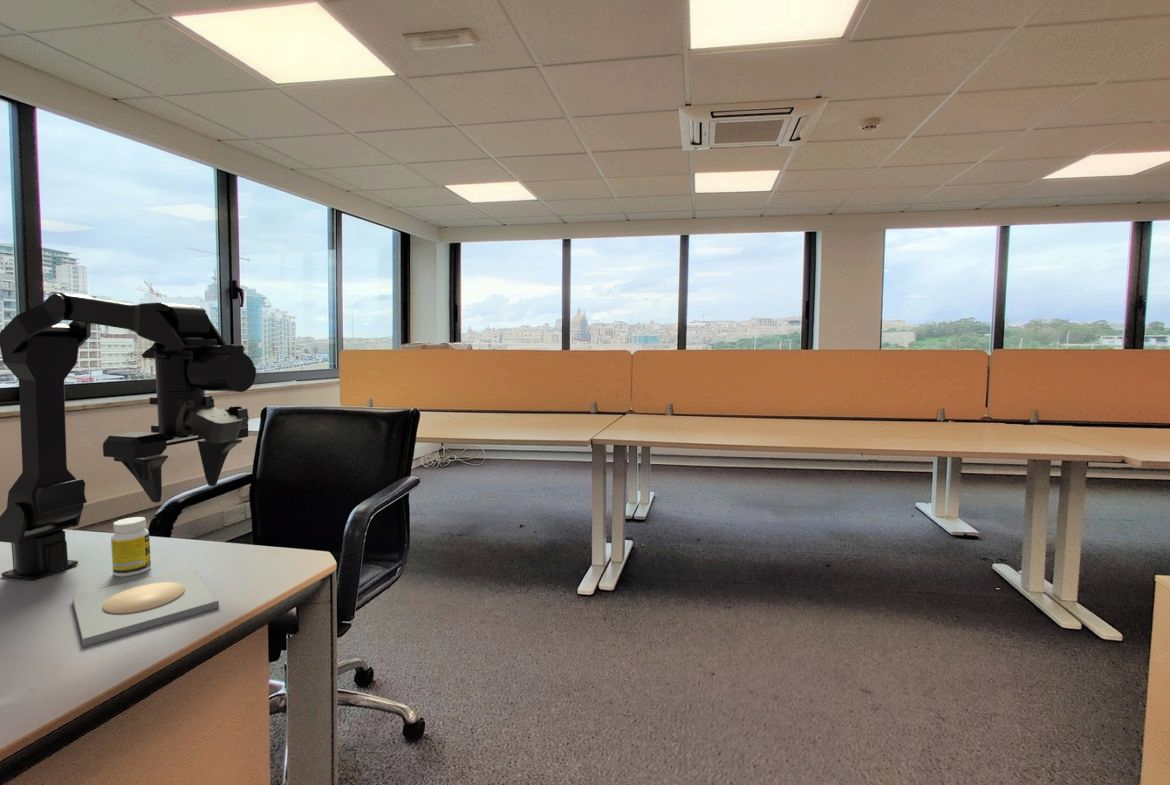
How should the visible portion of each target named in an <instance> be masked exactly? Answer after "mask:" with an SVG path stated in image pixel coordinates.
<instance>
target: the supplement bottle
mask: <svg viewBox="0 0 1170 785" xmlns="http://www.w3.org/2000/svg"><path fill="white" fill-rule="evenodd" d="M112 526H113V529H112V530H113V534H112V535H111V537H110V543H111V544H110V545H111V546H110V547H111V561H112V562H111V563H112V574H113V576H114V577H119V578H121V577H122V578H123V577H131V576H134V575H138V574H141V573H144V572H147V571H148V570H150V569H151V566H152V565H151V564H152V561H151V546H150V545H151V544H150V542H151V541H150V532H149V530H148V529H147V519H146V518H145V517H144V516H134V517H126V518H122V519H119V520H116V521H113V524H112Z"/></svg>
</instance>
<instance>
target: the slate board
mask: <svg viewBox="0 0 1170 785" xmlns="http://www.w3.org/2000/svg"><path fill="white" fill-rule="evenodd" d="M219 601H220V600H219V599H218V598H217V597H216V595H215V594H214V593H213V592H212V591H211V589H210V588H209V587H208V585H207V584H206V583H205V581H204V580H203V579H202V577H200V575H199V574H198V573H197V571H196V570H195V569H194V568H193V567H188V568H183V569H180V570H175V571H172V572H168V573H164V574H163V573H162V574H159V575H155V576H150V577H147V578H142V579H137V580H134V581H129V582H125V583H121V584H115V585H113V586H108V587H105V588H99V589H95V590H92V591H91V590H90V591H87V592H83V593H78V594H74V595H72V604H73V609H74V614H75V618H76V622H77V626H78V630H79V634H80V638H81V642H82V647H83V648H84V647H86V646H90V645H94V644H97V643H101V642H104V641H105V642H106V641H109V640H112V639H114V638H115V639H116V638H119V637H121V636H125V635H129V634H132V633H135V632H139V631H142V630H143V631H144V630H145V629H150V628H152V627H156V626H160V625H163V624H166V623H170V622H173V621H177V620H181V619H184V618H187V617H188V618H189V617H190V616H194V615H197V614H201V613H204V612H208V611H211V610H216V609H218V608H220V602H219Z"/></svg>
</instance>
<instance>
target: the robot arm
mask: <svg viewBox="0 0 1170 785" xmlns="http://www.w3.org/2000/svg"><path fill="white" fill-rule="evenodd" d="M62 321H71V322H70V323H69V324H68V325H67V324H65V323H61V322H62ZM92 324H94V325H98V326H99V325H101V326H105V327H111V328H116V329H117V328H118V329H124V330H128V331H129V330H130V331H131V332H133V333H135V334H136V335H137V336H138V337H140V338H143V339H146V340H149V341H150V342H151V341H152V342H153V344H152V345H151V346H150V347H149V348H148V349H146V350H145V351H144V352H142V354H141V357H142V358H143V359H154V364H155V365H154V366H155V383H156V384H155V385H156V396H152V397H149V405H156V407H157V424H154V425H153V424H152V425H150V432H145V431H144V432H142V431H131V432H125V433H117V434H112V435H111V434H110V435H108V436H107V438H106V439H105V440H104V441H103V443H102V454H103V457H104V458H106V457H107V458H113V460H114V462H121V463H122V465H124V467H125V468H126V469H127V470H128V471H129V472H130V473H131V474H132V475H133V477H134V479H135V480H136V481H137V483H138V484H139V486H141V488H142V490H143V491H144V492H145V494H146V495H147V497H148V498H149V499H150V501H151V503H160V502H161V501H162V494H163V486H162V484H163V483H162V482H163V481H162V480H163V478H162V466H163V465H164V463H165V462H166V461H167V459H168V458H169V455H166V454H165V455H163V453H164V452H165V450H167V448H168V446H173V445H178V444H179V445H180V444H184V443H185V444H186V443H189V442H197V446H198V451H199V454H200V459H201V464H202V469H203V473H204V477H205V480H206V483H207V486H209V487H215V486H216V485H217V483H218V481H219V478H220V475H221V472H222V469H223V466H224V464H225V462H226V459H227V456H228V455H229V453H230V451H232V449H234V447H236V446H237V445H238V444H241V443H242V442H243V439H244V438H248V437H249V412H248V408H247V407H245V406H244V405H232V406H230V407H229V408H228V409H227V408H218V407H216V406H215V399H214V398H213V395H206V391H208V392H227V393H228V392H231V393H232V392H234V393H244V392H245V391H248V390H249V389H250V388H251V387H252V386H253V385H254V383H255V381H256V377H257V375H256V374H257V368H256V367H255V365H254V362H253V361H252V359H251V357H250V356H249V355H248V354H246V353H245V348H244V345H243V344H227V343H226V342H225V340H224V339H223V337H222V336H221V334H220V333H219V331H218V330H217V329H216V327H215V326H214V324H213V323H212V321H211V320H210V318H209V315H208V314H207V311H206V309H205V308H203V307H202V306H198V305H190V304H189V305H188V304H180V303H168V302H148V303H147V302H146V303H145V302H144V303H138V304H135V303H129V302H123V301H116V300H108V299H103V298H96V297H93V296H90V295H88V294H87V295H86V294H77V293H76V294H75V293H66V292H65V293H64V292H57V293H56V294H51V295H49V296H48V297H47V298H46V299H45V300H44V302H42V303H40V304H38V305H36V306H33V307H31V308H30V309H27V310H25V311H23V312H21V313H18V314H16V316H14V317H13V318H12V319H11V321H9V322H8V323H7V324H6V326H4V327H3V329H1V330H0V354H1V358H2V362H3V364H4V365H5V366H6V367H7V369H8V370H9V371H10V372H11V373H12V374H13V375H14V377H15V378H17V380H18V387H19V388H18V390H19V392H18V393H19V394H18V395H19V415H20V418H19V419H20V421H19V422H20V442H21V466H22V469H21V470H22V472H21V474H20V475H19V477H18V478H17V479H16V481H15V482H14V483H13V485H12V486H11V487H10V489H9V490H8V494H7V502H6V508H5V510H4V511H3V512H2V513H1V515H0V543H7V544H8V543H9V544H11V545H10V546H11V552H12V553H11V555H12V556H11V558H12V569H10V570H6V571H3V572H1V573H0V574H1V577H3V578H4V577H5V578H13V579H22V580H29V581H30V580H31V581H33V580H37V579H39V578H43V577H45V576H49V575H51V574H53V573H56V572H60V571H62V570H65V569H68V568H70V567H74V566H76V565H79V561H78V560H72V559H69V557H68V542H67V540H66V530H65V529H69V528H73V527H74V528H75V527H78V526H79V524H80V520H81V516H82V513H83V510H84V506H85V504H87V502H88V501H87V499H86V494H85V491H86V489H85V488H86V482H85V481H84V479H83V478H78V479H77V477H75V475H73V474H72V472H70V470H69V469H68V465H67V464H68V461H67V459H68V458H67V456H68V455H67V430H66V428H67V426H66V425H67V424H66V401H65V400H66V397H65V393H66V392H65V380H66V379H67V377H68V376H69V374H70V373H71V372H72V370H73V369H74V367H75V366H76V365H77V364H78V358H79V357H78V356H79V349H80V347H81V346H82V345H83V344H84V343H85V342H86V341H87V340H88V339H89V338H90V337H91V336H92V328H91V327H92V326H91V325H92Z"/></svg>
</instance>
